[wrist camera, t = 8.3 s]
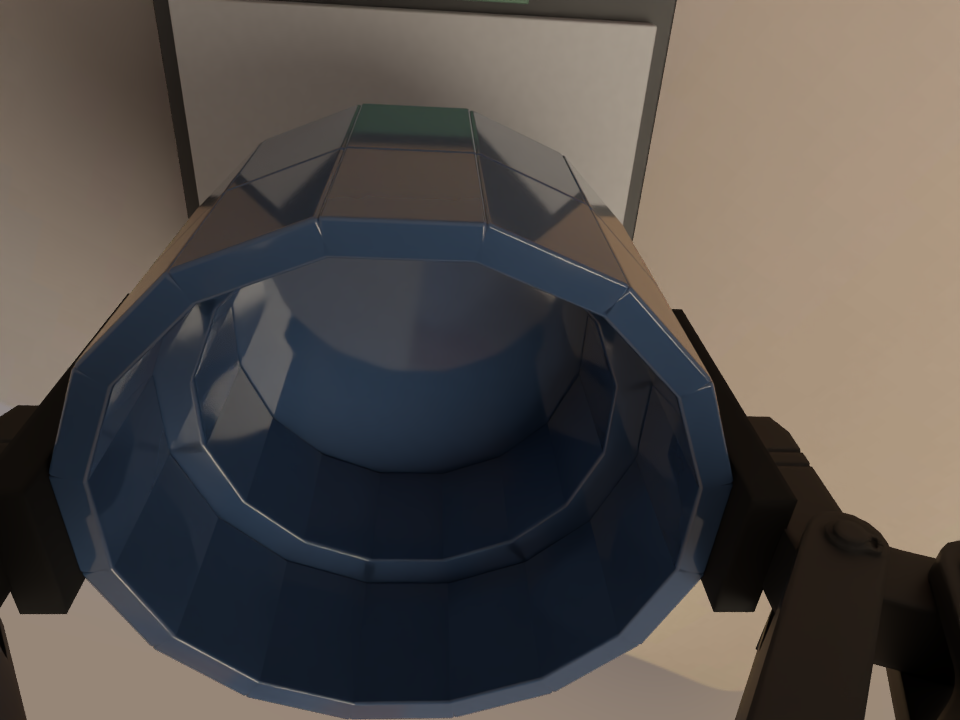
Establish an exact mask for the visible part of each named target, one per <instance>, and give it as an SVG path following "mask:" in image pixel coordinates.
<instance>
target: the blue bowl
mask: <svg viewBox="0 0 960 720" xmlns="http://www.w3.org/2000/svg"><path fill="white" fill-rule="evenodd" d="M48 473H49V481H50V484H51V487H52V490H53V493H54V496H55V499H56V502H57V505H58V508H59V511H60V514H61V517H62V520H63V523H64V525H65V528H66V531H67V534H68V537H69V540H70V543H71V546H72V549H73V552H74V555H75V558H76V561H77V564H78V567H79V570H80V571H81V572H82V574H83V576H84V577H85V578H86V579H87V580H88V581H89V582H90V583H91V584H92V586H94V588H95V589H96V590H97V591H98V592H99V593H100V594H101V595H102V596H103V597H104V598H105V599H106V600H107V601H108V602H109V603H110V604H111V605H112V606H113V607H114V608H115V610H116V611H117V612H118V613H119V614H120V615H121V616H122V617H123V618H124V619H125V620H126V621H127V622H128V623H129V624H130V625H131V626H132V627H133V628H134V629H135V630H136V631H137V632H138V633H139V635H140V636H141V637H142V638H143V639H144V640H145V641H146V642H147V643H148V644H149V645H151V646H153V648H154V649H155V650H157V651H159V652H161V653H163V654H165V655H167V656H168V657H170V658H172V659H174V660H176V661H178V662H180V663H182V664H184V665H186V666H188V667H190V668H192V669H193V670H195V671H197V672H199V673H201V674H203V675H205V676H207V677H209V678H211V679H213V680H215V681H217V682H218V683H220V684H222V685H224V686H226V687H228V688H230V689H232V690H234V691H236V692H238V693H240V694H242V695H246V696H247V697H249V698H253V699H258V700H262V701H267V702H271V703H276V704H280V705H285V706H289V707H294V708H298V709H303V710H307V711H312V712H316V713H321V714H325V715H330V716H334V717H339V718H343V719H349V718H350V719H422V718H423V719H424V718H453V717H460V716H464V715H468V714H472V713H476V712H480V711H484V710H487V709H492V708H495V707H500V706H504V705H507V704H512V703H515V702H519V701H523V700H528V699H531V698H535V697H539V696H543V695H547V694H550V693H552V691H553V692H556V691H558V690H560V689H562V688H563V687H565V686H567V685H569V684H570V683H572V682H574V681H576V680H578V679H580V678H581V677H583V676H585V675H587V674H589V673H590V672H592V671H594V670H596V669H597V668H599V667H601V666H603V665H605V664H606V663H608V662H610V661H612V660H614V659H615V658H617V657H619V656H621V655H623V654H624V653H626V652H628V651H630V650H632V649H633V648H635V647H637V646H638V645H639V644H642V643H643V642H644V641H645V640H646V639H647V637H648V636H649V635H650V634H651V633H652V632H653V631H654V630H655V629H656V628H657V626H658V625H659V624H660V623H661V622H662V621H663V620H664V619H665V618H666V617H667V615H668V614H669V613H670V612H671V611H672V610H673V609H674V608H675V607H676V606H677V605H678V603H679V602H680V601H681V600H682V599H683V598H684V597H685V596H686V595H687V594H688V592H689V591H690V590H691V589H692V588H693V587H694V586H695V585H696V584H697V583H698V581H699V580H700V579H701V578H702V577H703V576H704V572H705V571H706V568H707V565H708V561H709V558H710V555H711V552H712V549H713V546H714V543H715V540H716V537H717V534H718V530H719V527H720V524H721V521H722V518H723V515H724V512H725V509H726V506H727V503H728V500H729V496H730V493H731V490H732V487H733V483H732V482H733V474H732V470H731V465H730V460H729V455H728V450H727V445H726V441H725V436H724V431H723V426H722V421H721V416H720V412H719V407H718V402H717V397H716V392H715V387H714V383H713V381H712V379H711V377H710V375H709V373H708V372H707V370H706V368H705V366H704V365H703V363H702V361H701V360H700V358H699V356H698V354H697V353H696V351H695V349H694V347H693V346H692V344H691V342H690V341H689V339H688V337H687V335H686V334H685V332H684V330H683V328H682V327H681V325H680V323H679V322H678V320H677V318H676V316H675V315H674V313H673V311H672V310H671V308H670V306H669V304H668V303H667V301H666V299H665V297H664V296H663V294H662V292H661V291H660V289H659V287H658V285H657V283H656V281H655V280H654V278H653V276H652V275H651V273H650V271H649V269H648V268H647V266H646V264H645V263H644V261H643V259H642V257H641V256H640V254H639V252H638V250H637V249H636V247H635V245H634V244H633V242H632V240H631V238H630V237H629V235H628V233H627V232H626V230H625V228H624V226H623V225H622V224H621V222H620V221H619V220H618V219H617V218H616V216H615V215H614V214H613V213H612V212H611V210H610V209H609V208H608V207H607V206H606V204H605V203H604V202H603V201H602V200H601V198H600V197H599V196H598V195H597V194H596V192H595V191H594V190H593V189H592V188H591V186H590V185H589V184H588V183H587V182H586V180H585V179H584V178H583V177H582V176H581V174H580V173H579V172H578V171H577V170H576V168H575V167H574V166H573V165H572V164H571V162H570V161H569V160H568V159H567V158H566V156H564V155H563V156H562V154H561V153H559V152H557V151H555V150H553V149H551V148H549V147H547V146H545V145H543V144H541V143H539V142H537V141H535V140H533V139H531V138H529V137H526V136H524V135H522V134H520V133H518V132H516V131H514V130H512V129H510V128H508V127H506V126H504V125H502V124H500V123H498V122H496V121H494V120H492V119H490V118H487V117H485V116H483V115H481V114H479V113H477V112H475V111H469V109H467V108H446V107H426V106H405V105H385V104H364V103H363V104H361V105H355V106H353V107H350V108H347V109H345V110H342V111H339V112H337V113H334V114H332V115H329V116H326V117H324V118H321V119H318V120H316V121H313V122H310V123H308V124H305V125H303V126H300V127H297V128H295V129H292V130H289V131H287V132H284V133H282V134H279V135H276V136H274V137H271V138H268V139H266V140H264V141H263V142H261V143H259V144H258V145H257V146H256V147H255V149H254V150H253V151H252V152H251V153H250V154H249V155H248V156H247V157H246V158H245V159H244V160H243V161H242V162H241V163H240V164H239V165H238V166H237V167H236V168H235V169H234V171H233V172H232V173H231V174H230V175H229V176H228V177H227V178H226V179H225V180H224V181H223V182H222V183H221V184H220V185H219V186H218V187H217V188H216V189H215V190H214V191H213V193H212V194H211V195H210V196H209V197H208V198H207V199H206V200H205V201H204V202H203V203H202V204H201V205H200V206H199V207H198V208H197V209H196V211H195V212H194V213H193V214H192V216H191V217H190V218H189V219H188V221H187V222H186V223H185V225H184V226H183V227H182V228H181V230H180V231H179V232H178V233H177V235H176V236H175V237H174V238H173V240H172V241H171V242H170V243H169V245H168V246H167V247H166V249H165V250H164V251H163V252H162V254H161V255H160V256H159V257H158V259H157V260H156V261H155V262H154V264H153V265H152V266H151V267H150V269H149V270H148V271H147V273H146V274H145V275H144V276H143V278H142V279H141V280H140V281H139V283H138V284H137V285H136V287H135V288H134V289H133V290H132V292H131V293H130V294H129V295H128V297H127V298H126V299H125V300H124V302H123V303H122V304H121V305H120V307H119V308H118V309H117V311H116V312H115V313H114V314H113V316H112V317H111V318H110V319H109V321H108V322H107V323H106V324H105V326H104V327H103V328H102V329H101V331H100V332H99V333H98V335H97V336H96V337H95V338H94V340H93V341H92V342H91V343H90V345H89V346H88V347H87V348H86V350H85V351H84V352H83V353H82V355H81V356H80V357H79V359H78V360H77V361H76V362H75V366H74V367H73V368H72V370H71V374H70V379H69V383H68V387H67V392H66V396H65V400H64V405H63V409H62V414H61V418H60V422H59V427H58V431H57V435H56V440H55V444H54V449H53V453H52V457H51V462H50V466H49V472H48Z"/></svg>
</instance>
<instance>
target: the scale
mask: <svg viewBox="0 0 960 720" xmlns="http://www.w3.org/2000/svg"><path fill="white" fill-rule="evenodd" d="M676 1H677V0H153V4H154V10H155V16H156V22H157V29H158V35H159V41H160V47H161V53H162V59H163V65H164V71H165V78H166V84H167V90H168V96H169V102H170V108H171V114H172V120H173V127H174V133H175V139H176V145H177V151H178V157H179V163H180V169H181V176H182V182H183V188H184V194H185V200H186V206H187V212H188V218H190V217H191V216H192V214H193V213H194V212H195V211H196V209H197V208H198V207H199V206H200V205H201V204H202V203H203V202H204V201H205V200H206V199H207V198H208V197H209V196H210V195H211V194H212V193H213V191H214V190H215V189H216V188H217V187H218V186H219V185H220V184H221V183H222V182H223V181H224V180H225V179H226V178H227V177H228V176H229V175H230V174H231V173H232V172H233V171H234V169H235V168H236V167H237V166H238V165H239V164H240V163H241V162H242V161H243V160H244V159H245V158H246V157H247V156H248V155H249V154H250V153H251V152H252V151H253V150H254V149H255V147H256V146H257V145H258V144H259V143H261V142H263V141H264V140H266V139H268V138H271V137H274V136H276V135H279V134H282V133H284V132H287V131H289V130H292V129H295V128H297V127H300V126H303V125H305V124H308V123H310V122H313V121H316V120H318V119H321V118H324V117H326V116H329V115H332V114H334V113H337V112H339V111H342V110H345V109H347V108H350V107H353V106H355V105H361V104H363V103H364V104H385V105H405V106H426V107H446V108H467V109H469V111H475V112H477V113H479V114H481V115H483V116H485V117H487V118H490V119H492V120H494V121H496V122H498V123H500V124H502V125H504V126H506V127H508V128H510V129H512V130H514V131H516V132H518V133H520V134H522V135H524V136H526V137H529V138H531V139H533V140H535V141H537V142H539V143H541V144H543V145H545V146H547V147H549V148H551V149H553V150H555V151H557V152H559V153H561V154H562V156H563V155H564V156H566V158H567V159H568V160H569V161H570V162H571V164H572V165H573V166H574V167H575V168H576V170H577V171H578V172H579V173H580V174H581V176H582V177H583V178H584V179H585V180H586V182H587V183H588V184H589V185H590V186H591V188H592V189H593V190H594V191H595V192H596V194H597V195H598V196H599V197H600V198H601V200H602V201H603V202H604V203H605V204H606V206H607V207H608V208H609V209H610V210H611V212H612V213H613V214H614V215H615V216H616V218H617V219H618V220H619V221H620V222H621V224H622V225H623V226H624V228H625V230H626V232H627V233H628V235H629V237H630V238H631V240H632V242H633V236H634V231H635V225H636V220H637V214H638V209H639V203H640V198H641V193H642V187H643V182H644V176H645V171H646V165H647V160H648V154H649V149H650V143H651V138H652V133H653V127H654V122H655V116H656V111H657V105H658V100H659V94H660V89H661V83H662V78H663V72H664V67H665V62H666V56H667V51H668V45H669V40H670V34H671V29H672V23H673V18H674V12H675V7H676Z"/></svg>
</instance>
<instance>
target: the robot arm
mask: <svg viewBox="0 0 960 720" xmlns="http://www.w3.org/2000/svg"><path fill="white" fill-rule="evenodd" d="M128 295H129V294H127V296H126V297H125V298H124V299H123V301H122V302H121V303H120V304H119V306H118V307H117V308H116V309H115V311H114V312H113V313H112V314H111V316H110V317H109V318H108V319H107V321H106V322H105V323H104V324H103V326H102V327H101V328H100V329H99V331H98V332H97V333H96V335H95V336H94V337H93V338H92V340H91V341H90V342H89V343H88V345H87V346H86V347H85V348H84V350H83V351H82V352H81V353H80V355H79V356H78V357H77V358H76V360H75V361H74V362H73V363H72V365H71V366H70V367H69V368H68V370H67V371H66V372H65V373H64V375H63V376H62V377H61V379H60V380H59V381H58V382H57V384H56V385H55V386H54V387H53V389H52V390H51V391H50V392H49V394H48V395H47V396H46V397H45V399H44V400H43V401H42V402H41V404H40V405H39V406H29V405H18V406H16V407H14V408H13V409H11V410H10V411H8V412H7V413H5V414H4V415H2V416H0V607H1V606H2V604H3V602H4V601H5V599H6V598H7V596H8V594H9V593H10V591H11V594H12V596H13V598H14V601H15V603H16V606H17V608H18V610H19V613H20V614H67V612H68V610H69V608H70V607H71V604H72V603H73V600H74V599H75V597H76V595H77V593H78V591H79V589H80V587H81V585H82V584H83V582H84V580H85V577H84V576H83V574H82V572H81V571H80V570H79V567H78V564H77V561H76V558H75V555H74V552H73V549H72V546H71V543H70V540H69V537H68V534H67V531H66V528H65V525H64V523H63V520H62V517H61V514H60V511H59V508H58V505H57V502H56V499H55V496H54V493H53V490H52V487H51V484H50V481H49V473H48V472H49V466H50V462H51V457H52V453H53V449H54V444H55V440H56V435H57V431H58V427H59V422H60V418H61V414H62V409H63V405H64V400H65V396H66V392H67V387H68V383H69V379H70V374H71V370H72V368H73V367H74V366H75V362H76V361H77V360H78V359H79V357H80V356H81V355H82V353H83V352H84V351H85V350H86V348H87V347H88V346H89V345H90V343H91V342H92V341H93V340H94V338H95V337H96V336H97V335H98V333H99V332H100V331H101V329H102V328H103V327H104V326H105V324H106V323H107V322H108V321H109V319H110V318H111V317H112V316H113V314H114V313H115V312H116V311H117V309H118V308H119V307H120V305H121V304H122V303H123V302H124V300H125V299H126V298H127V297H128ZM671 310H672V311H673V313H674V315H675V316H676V318H677V320H678V322H679V323H680V325H681V327H682V328H683V330H684V332H685V334H686V335H687V337H688V339H689V341H690V342H691V344H692V346H693V347H694V349H695V351H696V353H697V354H698V356H699V358H700V360H701V361H702V363H703V365H704V366H705V368H706V370H707V372H708V373H709V375H710V377H711V379H712V381H713V383H714V387H715V392H716V397H717V402H718V407H719V412H720V416H721V421H722V426H723V431H724V436H725V441H726V445H727V450H728V455H729V460H730V465H731V470H732V474H733V482H732V483H733V487H732V490H731V493H730V496H729V500H728V503H727V506H726V509H725V512H724V515H723V518H722V521H721V524H720V527H719V530H718V534H717V537H716V540H715V543H714V546H713V549H712V552H711V555H710V558H709V561H708V565H707V568H706V571H705V572H704V576H703V577H702V578H701V581H702V583H703V586H704V588H705V591H706V593H707V596H708V599H709V601H710V604H711V606H712V609H713V611H714V612H754V611H755V609H756V606H757V603H758V601H759V598H760V596H761V593H762V591H763V590H764V592H765V594H766V597H767V599H768V601H769V603H770V605H771V607H772V610H771V612H770V615H769V617H768V620H767V622H766V625H765V627H764V629H763V632H762V634H761V637H760V639H759V642H758V644H757V647H756V649H757V653H756V656H755V659H754V662H753V665H752V668H751V672H750V675H749V678H748V681H747V684H746V687H745V690H744V693H743V696H742V699H741V703H740V706H739V709H738V712H737V715H736V718H735V720H864V717H865V711H866V705H867V698H868V692H869V686H870V679H871V673H872V667H873V664H876V665H879V666H883V667H886V671H887V676H888V681H889V686H890V692H891V697H892V703H893V708H894V713H895V718H896V720H960V541H955V542H950V543H947V544H946V545H945V546H944V547H943V548H942V549H941V551H940V552H939V554H938V556H937V558H936V559H935V558H931V557H927V556H923V555H919V554H915V553H911V552H906V551H902V550H898V549H895V548H892V547H889V545H888V543H887V541H886V540H885V539H884V537H883V536H882V534H881V533H880V532H879V531H878V530H876V529H875V528H874V527H873V526H871V525H870V524H869V523H867V522H865V521H863V520H861V519H859V518H857V517H855V516H853V515H850V514H846V513H843V512H842V511H841V509H840V508H839V506H838V505H837V503H836V502H835V500H834V499H833V497H832V496H831V494H830V493H829V491H828V490H827V488H826V487H825V485H824V484H823V482H822V481H821V479H820V478H819V476H818V475H817V473H816V472H815V470H814V469H813V467H810V466H809V464H810V463H809V461H808V460H807V458H806V457H805V456H804V454H803V453H800V448H799V447H798V445H797V444H796V442H795V441H794V439H793V438H792V436H791V435H790V433H789V432H788V431H787V430H785V429H784V428H783V427H782V426H780V425H779V424H778V423H777V422H775V421H774V420H773V419H771V418H770V417H752V416H746V414H745V413H744V411H743V409H742V408H741V406H740V404H739V403H738V401H737V399H736V398H735V396H734V394H733V393H732V391H731V390H730V388H729V386H728V385H727V383H726V381H725V380H724V378H723V376H722V375H721V373H720V371H719V370H718V368H717V366H716V365H715V363H714V362H713V360H712V358H711V357H710V355H709V353H708V352H707V350H706V348H705V347H704V345H703V343H702V342H701V340H700V338H699V337H698V335H697V333H696V332H695V330H694V329H693V327H692V325H691V324H690V322H689V320H688V319H687V317H686V315H685V314H684V312H683V310H682V309H671ZM0 720H27V719H26V715H25V711H24V707H23V703H22V699H21V695H20V691H19V686H18V682H17V678H16V674H15V670H14V666H13V662H12V658H11V654H10V650H9V646H8V642H7V637H6V633H5V630H4V625H3V623H2V621H1V619H0Z"/></svg>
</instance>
